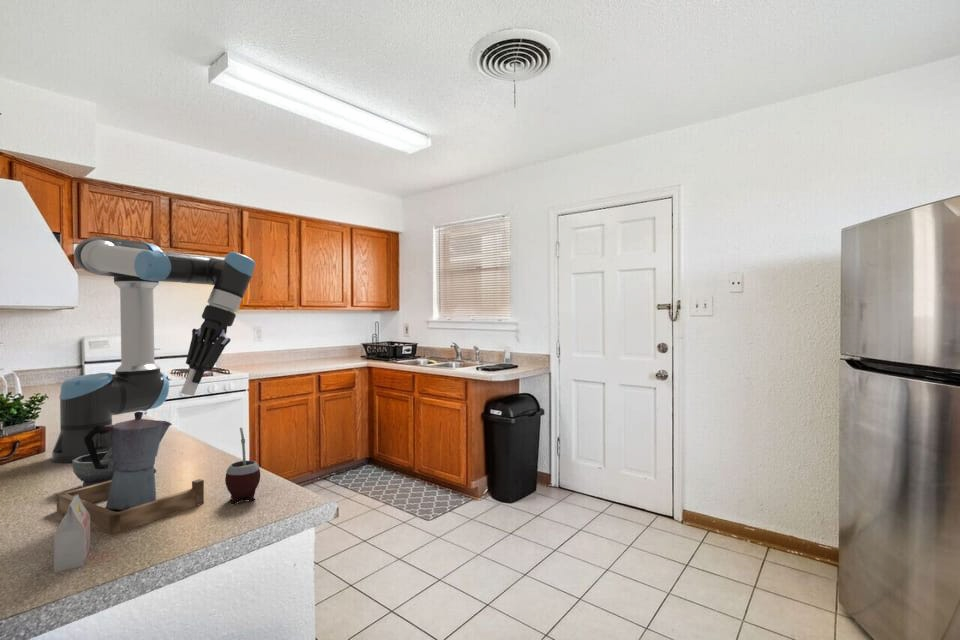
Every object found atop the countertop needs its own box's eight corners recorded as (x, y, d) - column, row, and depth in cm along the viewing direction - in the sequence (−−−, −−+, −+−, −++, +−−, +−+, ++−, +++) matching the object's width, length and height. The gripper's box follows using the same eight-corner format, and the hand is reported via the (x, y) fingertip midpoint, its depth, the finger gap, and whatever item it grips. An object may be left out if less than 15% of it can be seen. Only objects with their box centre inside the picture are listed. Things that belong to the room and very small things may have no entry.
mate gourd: (243, 507, 101) (243, 437, 101) (214, 502, 103) (214, 434, 103) (268, 494, 108) (268, 429, 108) (240, 490, 110) (241, 427, 110)
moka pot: (178, 499, 105) (178, 410, 105) (90, 522, 93) (90, 421, 93) (163, 489, 111) (163, 404, 111) (79, 509, 99) (79, 415, 99)
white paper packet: (53, 572, 75) (54, 510, 75) (62, 554, 81) (62, 496, 81) (83, 565, 77) (83, 505, 77) (90, 548, 83) (90, 492, 83)
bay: (146, 485, 114) (146, 464, 114) (203, 503, 103) (203, 480, 103) (56, 511, 98) (56, 487, 98) (113, 535, 88) (113, 508, 88)
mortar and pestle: (69, 495, 107) (69, 443, 107) (75, 483, 114) (75, 434, 114) (131, 485, 113) (131, 436, 113) (132, 475, 121) (132, 428, 121)
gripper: (249, 316, 126) (215, 402, 122) (218, 309, 132) (185, 391, 127) (225, 307, 120) (189, 398, 115) (194, 300, 125) (158, 386, 121)
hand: (187, 394), depth 121 cm, fingers closed
